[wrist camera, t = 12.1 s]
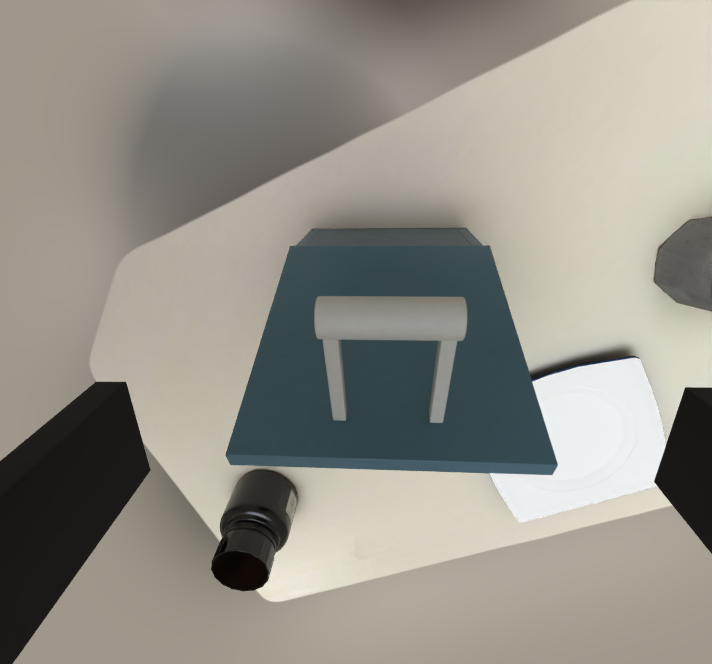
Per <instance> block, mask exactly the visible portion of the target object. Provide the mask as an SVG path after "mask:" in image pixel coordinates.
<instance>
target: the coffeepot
mask: <svg viewBox="0 0 712 664" xmlns="http://www.w3.org/2000/svg"><path fill="white" fill-rule="evenodd" d="M655 275H656V276H655V283H656V284H657V285H658V286H659V287H660V288H661V289H662V290H663V291H664V292H665V293H667V294H668V295H669V296H670V297H671V298H672V299H673V300H675V301H676V302H677V303H681V304H684V305H688V306H692V307H696V308H700V309H704V310H708V311H712V217H707V218H702V219H695V220H690V221H689V222H687V223H686V224H685V225H684V226H682V227H681V228H680V229H679V230H677V231H676V232H675V233H673V234H672V235H671V237H670V238H669V239H668V240H667V241H666V242H665V244H664V245H663V246H662V247H661V248H660V249H659V252H658V256H657V260H656V264H655Z"/></svg>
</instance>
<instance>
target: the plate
mask: <svg viewBox="0 0 712 664" xmlns="http://www.w3.org/2000/svg"><path fill="white" fill-rule="evenodd" d="M532 383H533V386H534V390H535V393H536V396H537V399H538V402H539V406H540V409H541V412H542V415H543V418H544V422H545V425H546V428H547V431H548V434H549V438H550V441H551V444H552V447H553V450H554V454H555V457H556V460H557V463H558V466H557V468H556V470H555V471H554V473H553V475H529V474H498V473H489V474H490V476H491V478H492V480H493V482H494V484H495V486H496V488H497V490H498V491H499V493H500V494H501V496H502V498H503V499H504V501H505V502H506V504H507V506H508V507H509V509H510V510H511V512H512V514H513V515H514V517H515V518H516V520H517V522H520V523H523V522H527V521H530V520H534V519H538V518H542V517H545V516H549V515H553V514H557V513H560V512H564V511H568V510H572V509H575V508H579V507H583V506H587V505H591V504H594V503H598V502H602V501H605V500H609V499H613V498H616V497H620V496H624V495H627V494H631V493H635V492H638V491H642V490H646V489H649V488H653V487H657V485H656V484H655V483H654V480H655V477H656V474H657V471H658V468H659V465H660V462H661V459H662V456H663V453H664V450H665V447H666V444H665V438H664V433H663V427H662V422H661V417H660V414H659V410H658V407H657V403H656V400H655V396H654V393H653V391H652V388H651V386H650V383H649V380H648V378H647V375H646V373H645V370H644V368H643V365H642V363H641V360H640V359H639V358H638V357H636V356H629V357H623V358H617V359H611V360H605V361H599V362H593V363H587V364H581V365H576V366H572V367H569V368H566V369H563V370H559V371H556V372H553V373H549V374H546V375H543V376H541V377H538V378H535V379H533V380H532Z"/></svg>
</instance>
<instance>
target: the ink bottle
mask: <svg viewBox="0 0 712 664" xmlns="http://www.w3.org/2000/svg"><path fill="white" fill-rule="evenodd" d="M296 505H297V493H296V491H295V489H294V487H293V486H292V485H291V483H290V482H289V481H287V480H286V479H285V478H283V477H282V476H280V475H278V474H275V473H272V472H268V471H255V472H252V473H249V474H247V475H245V476H244V477H242V478H241V479H240V480H239V482H238V483H237V485H236V487H235V489H234V491H233V493H232V495H231V498H230V500H229V502H228V504H227V507H226V509H225V511H224V513H223V516H222V518H221V522H220V532H221V535H222V539H221V541H220V543H219V546H218V548H217V551H216V553H215V555H214V558H213V560H212V567H211V570H212V572H213V574H214V577H215V578H216V579H217V580H218V581H219V582H221V584H223V585H225V586H227V587H229V588H231V589H235V590H240V591H251V590H252V591H253V590H256V589H258V588H260V587H263V586H264V584H265V583H266V582H267V581H268V579H269V575H270V572H271V568H272V564H273V561H274V555H275V553H276V552H278V551H279V550H280V549H281V548H282V547H283V546H284V545H285V543H286V542H287V539H288V537H289V533H290V529H291V525H292V521H293V517H294V513H295V509H296Z"/></svg>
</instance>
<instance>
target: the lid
mask: <svg viewBox="0 0 712 664" xmlns="http://www.w3.org/2000/svg"><path fill="white" fill-rule="evenodd" d="M226 457H227V459H228V461H229V463H230V465H254V466H285V467H315V468H346V469H376V470H407V471H437V472H468V473H498V474H529V475H553V473H554V471H555V470H556V468H557V466H558V463H557V460H556V457H555V454H554V450H553V447H552V444H551V441H550V438H549V434H548V431H547V428H546V425H545V422H544V418H543V415H542V412H541V409H540V406H539V402H538V399H537V396H536V393H535V390H534V386H533V383H532V380H531V377H530V373H529V370H528V367H527V364H526V361H525V357H524V354H523V351H522V348H521V345H520V341H519V338H518V335H517V332H516V329H515V325H514V322H513V319H512V316H511V313H510V309H509V306H508V303H507V300H506V297H505V293H504V290H503V287H502V284H501V281H500V277H499V274H498V271H497V268H496V265H495V261H494V258H493V255H492V252H491V249H490V246H290V248H289V252H288V255H287V258H286V261H285V265H284V268H283V271H282V274H281V278H280V281H279V284H278V287H277V290H276V294H275V297H274V300H273V303H272V307H271V310H270V313H269V316H268V320H267V323H266V326H265V329H264V332H263V336H262V339H261V342H260V345H259V349H258V352H257V355H256V358H255V362H254V365H253V368H252V371H251V374H250V378H249V381H248V384H247V387H246V391H245V394H244V397H243V400H242V404H241V407H240V410H239V413H238V416H237V420H236V423H235V426H234V429H233V433H232V436H231V439H230V442H229V446H228V449H227V452H226Z"/></svg>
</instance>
